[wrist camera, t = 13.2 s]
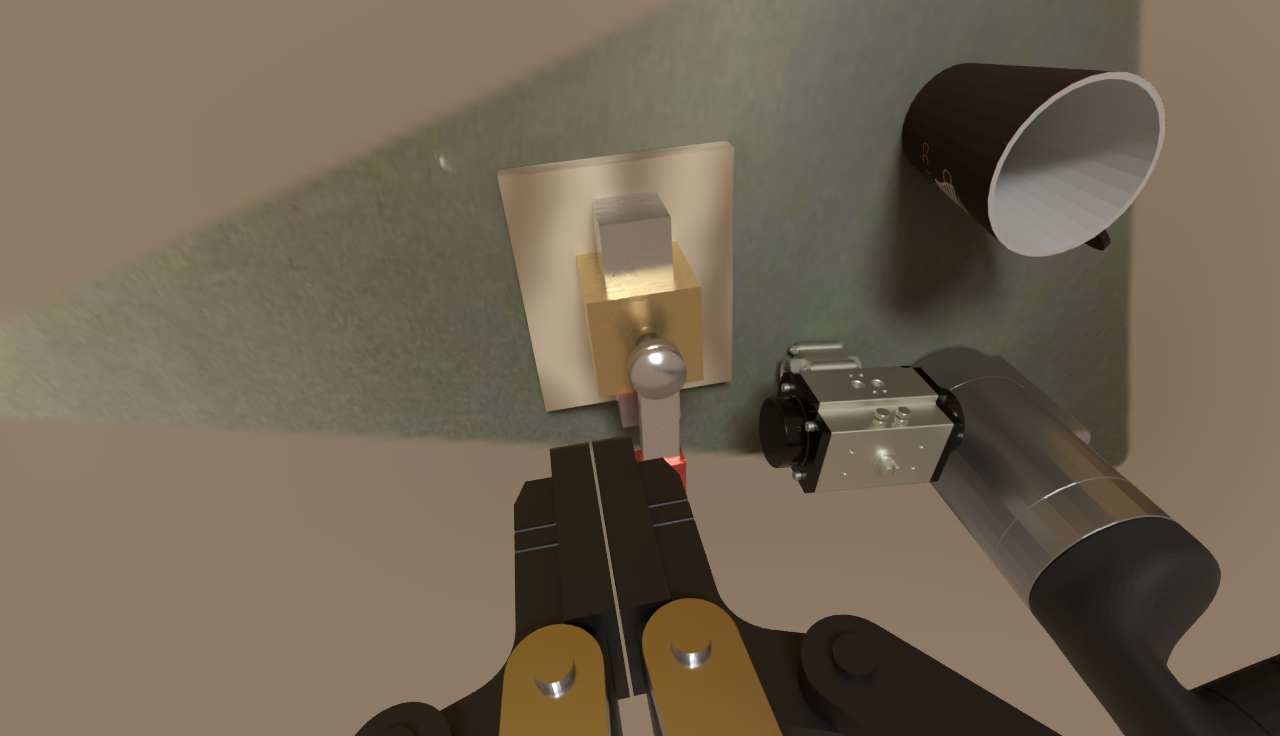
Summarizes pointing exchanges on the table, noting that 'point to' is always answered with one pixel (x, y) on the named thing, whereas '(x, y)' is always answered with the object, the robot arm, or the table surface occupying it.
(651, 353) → the lever
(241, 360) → the table surface
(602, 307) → the valve
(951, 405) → the pneumatic valve
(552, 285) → the mounting board
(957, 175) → the coffee mug
